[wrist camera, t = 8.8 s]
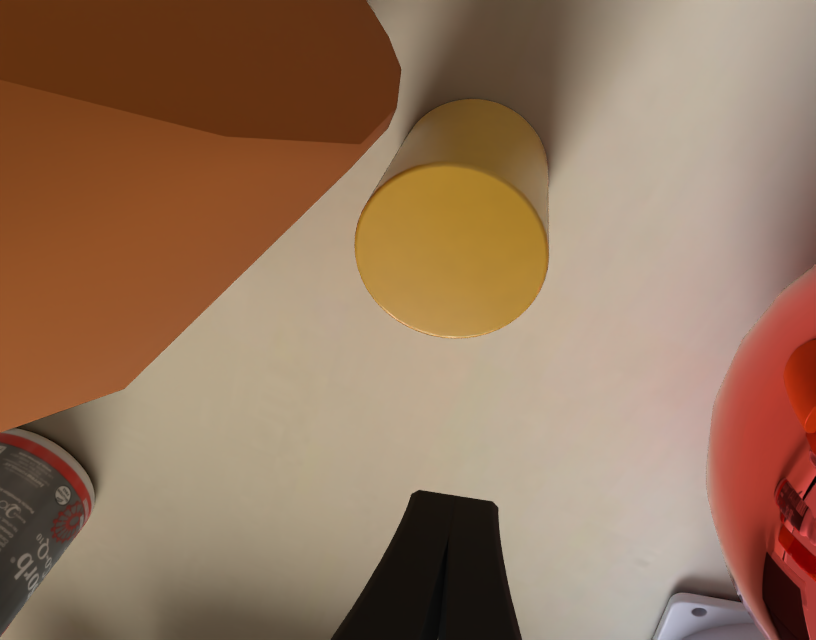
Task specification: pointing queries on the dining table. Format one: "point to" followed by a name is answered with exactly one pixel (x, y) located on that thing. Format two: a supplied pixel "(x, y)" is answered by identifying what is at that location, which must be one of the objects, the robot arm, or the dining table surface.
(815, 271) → the ball
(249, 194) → the alarm clock
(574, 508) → the dining table surface
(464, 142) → the yellow cylinder
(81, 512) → the pill bottle
